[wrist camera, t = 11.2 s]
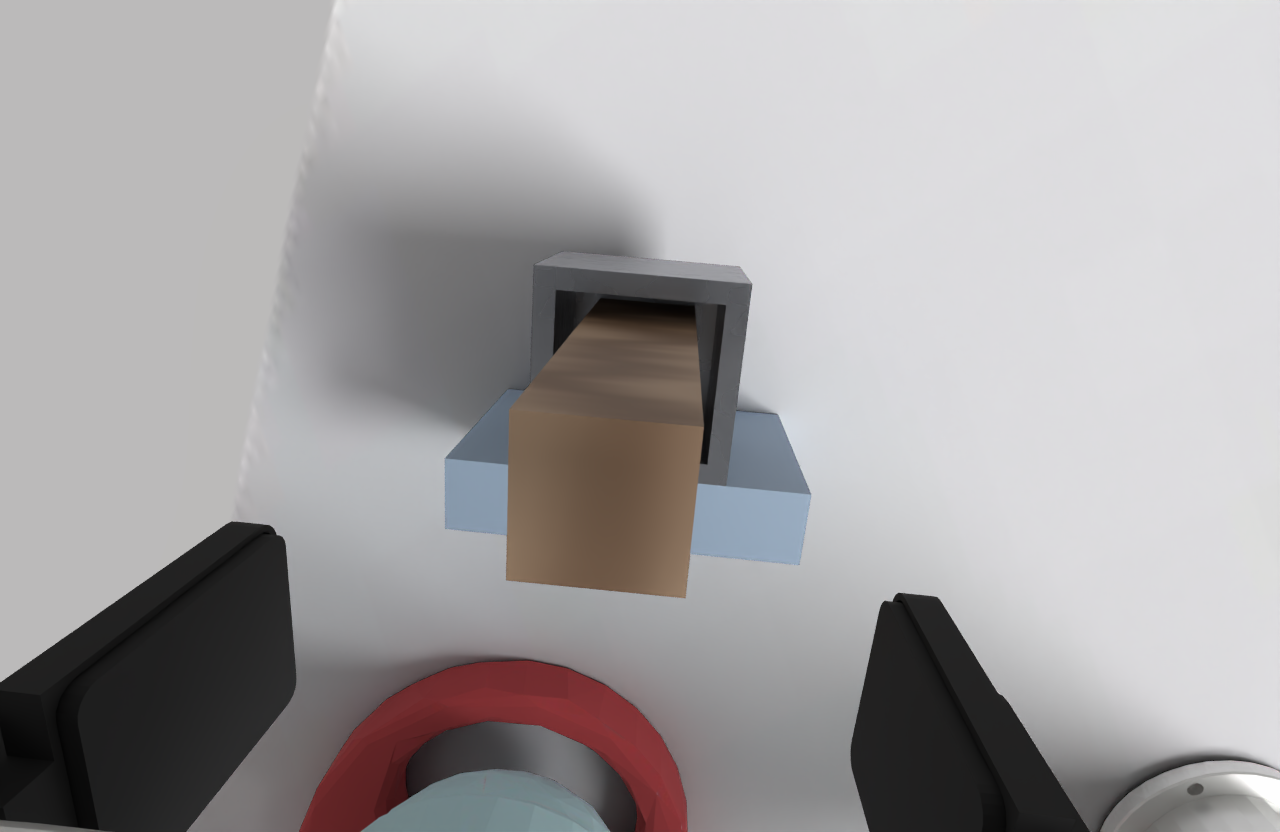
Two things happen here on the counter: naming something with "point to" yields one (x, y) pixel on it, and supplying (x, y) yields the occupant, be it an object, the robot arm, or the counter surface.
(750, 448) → the slate-blue board
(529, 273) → the counter surface
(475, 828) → the stand mixer
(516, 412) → the walnut rail
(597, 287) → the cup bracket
